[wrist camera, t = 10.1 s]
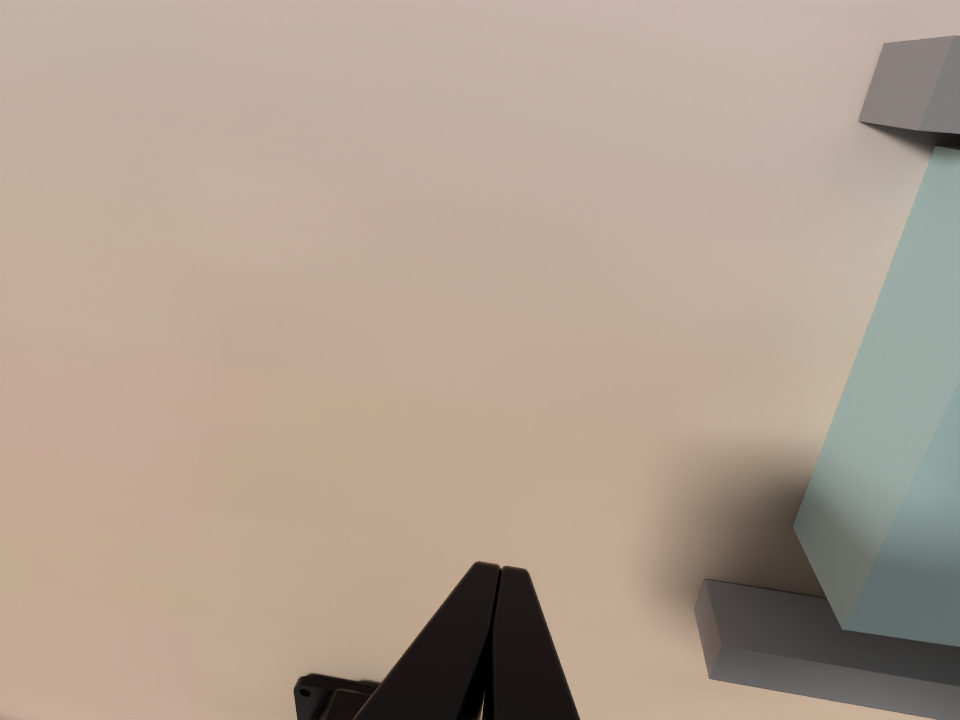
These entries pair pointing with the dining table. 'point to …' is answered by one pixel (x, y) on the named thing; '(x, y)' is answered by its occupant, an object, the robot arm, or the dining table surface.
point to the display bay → (810, 620)
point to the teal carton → (899, 442)
